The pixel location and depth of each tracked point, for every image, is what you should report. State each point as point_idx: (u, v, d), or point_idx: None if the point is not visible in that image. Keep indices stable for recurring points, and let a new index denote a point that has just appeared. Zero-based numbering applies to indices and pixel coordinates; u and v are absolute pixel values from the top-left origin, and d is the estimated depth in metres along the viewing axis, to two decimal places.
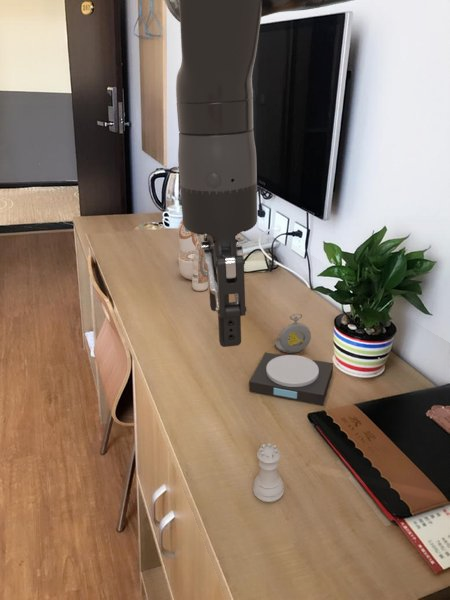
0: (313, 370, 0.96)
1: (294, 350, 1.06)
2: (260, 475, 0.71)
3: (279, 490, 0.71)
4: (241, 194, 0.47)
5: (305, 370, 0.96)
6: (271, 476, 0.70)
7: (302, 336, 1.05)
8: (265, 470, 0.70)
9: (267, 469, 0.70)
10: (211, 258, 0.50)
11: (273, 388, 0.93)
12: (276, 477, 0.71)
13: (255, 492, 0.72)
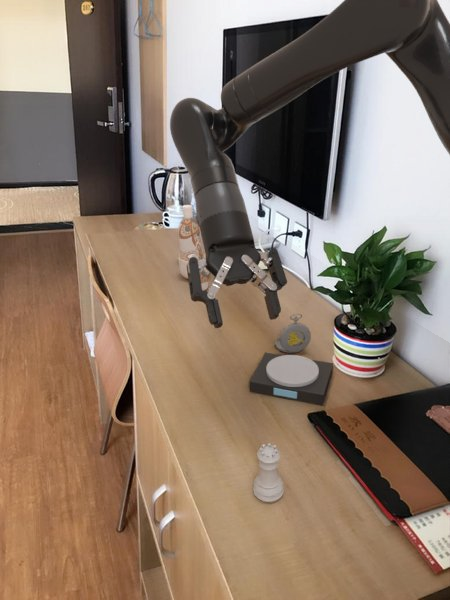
0: (313, 370, 0.96)
1: (294, 350, 1.06)
2: (260, 475, 0.71)
3: (279, 490, 0.71)
4: (206, 222, 0.73)
5: (305, 370, 0.96)
6: (271, 476, 0.70)
7: (302, 336, 1.05)
8: (265, 470, 0.70)
9: (268, 469, 0.70)
10: None
11: (273, 388, 0.93)
12: (276, 477, 0.71)
13: (255, 492, 0.72)
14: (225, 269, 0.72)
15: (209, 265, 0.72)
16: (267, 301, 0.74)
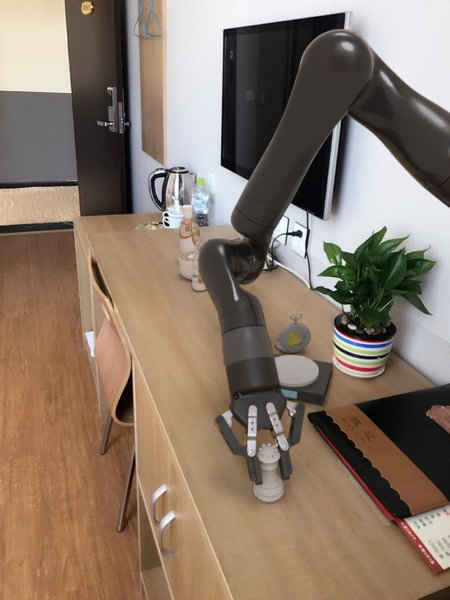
0: (313, 370, 0.96)
1: (294, 350, 1.06)
2: None
3: (279, 490, 0.71)
4: (230, 367, 0.73)
5: (305, 370, 0.96)
6: (271, 476, 0.70)
7: (302, 336, 1.05)
8: (265, 470, 0.70)
9: (267, 469, 0.70)
10: None
11: None
12: (276, 477, 0.71)
13: (255, 492, 0.72)
14: (249, 419, 0.71)
15: (233, 413, 0.71)
16: (279, 460, 0.71)
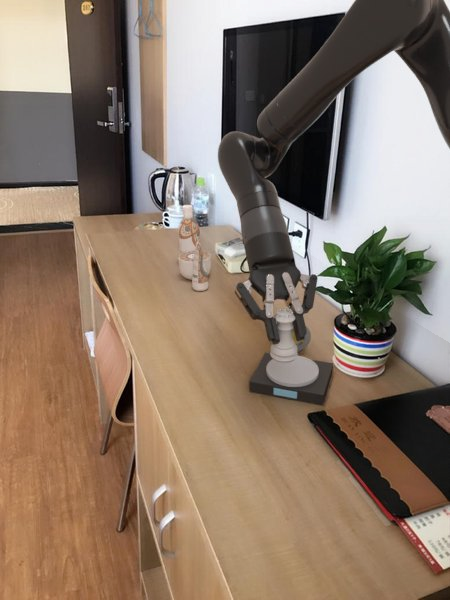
0: (313, 370, 0.96)
1: None
2: None
3: (294, 351, 0.78)
4: (249, 242, 0.80)
5: (305, 370, 0.96)
6: (287, 337, 0.78)
7: None
8: (281, 331, 0.77)
9: (284, 329, 0.77)
10: None
11: (273, 388, 0.93)
12: (291, 339, 0.78)
13: (272, 355, 0.80)
14: (267, 285, 0.78)
15: (252, 282, 0.79)
16: (294, 323, 0.78)
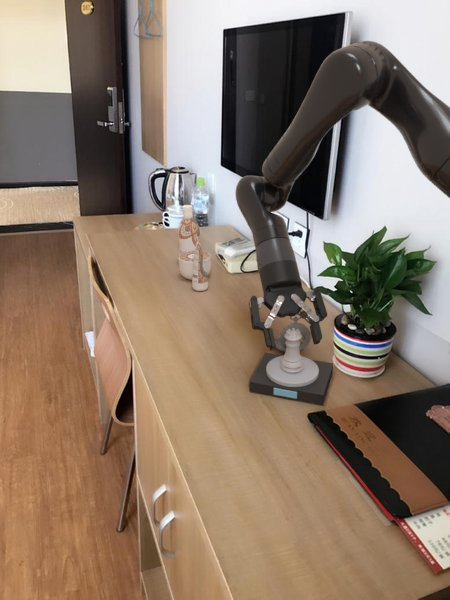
0: (313, 370, 0.96)
1: None
2: (286, 352, 0.95)
3: (300, 364, 0.95)
4: (263, 268, 0.96)
5: (305, 370, 0.96)
6: (295, 352, 0.94)
7: (302, 336, 1.05)
8: (290, 347, 0.93)
9: (292, 346, 0.93)
10: None
11: (273, 388, 0.93)
12: (298, 354, 0.94)
13: (282, 367, 0.96)
14: (278, 305, 0.93)
15: (266, 302, 0.94)
16: (312, 329, 0.94)
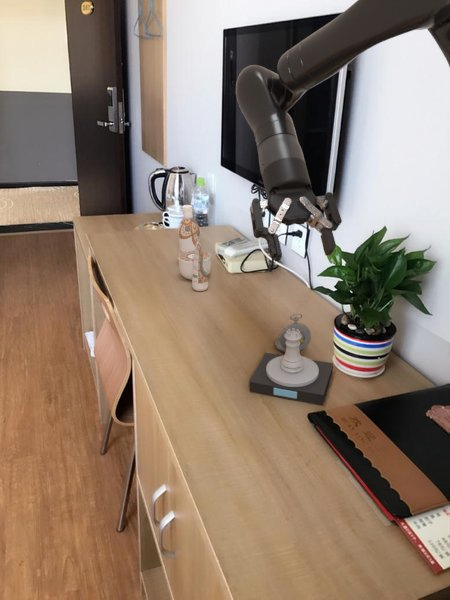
0: (313, 370, 0.96)
1: None
2: (286, 352, 0.95)
3: (300, 364, 0.95)
4: (267, 168, 0.82)
5: (305, 370, 0.96)
6: (295, 352, 0.94)
7: (302, 336, 1.05)
8: (290, 347, 0.93)
9: (292, 346, 0.93)
10: None
11: (273, 388, 0.93)
12: (298, 354, 0.94)
13: (282, 367, 0.96)
14: (284, 208, 0.80)
15: (270, 206, 0.81)
16: (323, 238, 0.81)
